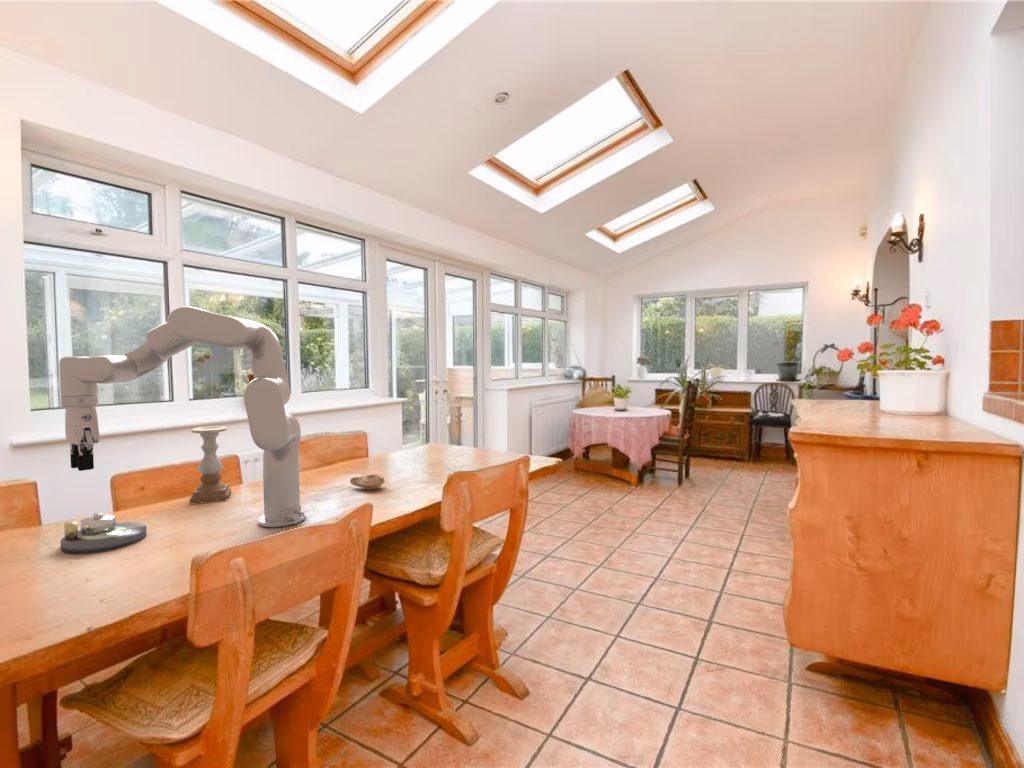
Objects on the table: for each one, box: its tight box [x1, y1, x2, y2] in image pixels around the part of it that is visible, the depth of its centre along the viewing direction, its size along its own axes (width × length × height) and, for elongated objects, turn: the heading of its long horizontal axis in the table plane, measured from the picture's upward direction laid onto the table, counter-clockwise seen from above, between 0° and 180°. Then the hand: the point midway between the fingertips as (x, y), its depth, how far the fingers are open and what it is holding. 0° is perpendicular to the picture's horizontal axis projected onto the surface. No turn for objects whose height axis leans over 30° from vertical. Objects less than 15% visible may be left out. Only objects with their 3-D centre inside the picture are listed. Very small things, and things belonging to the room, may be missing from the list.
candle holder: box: [189, 425, 232, 505], centre depth 166 cm, size 11×11×24 cm
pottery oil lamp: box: [349, 473, 386, 490], centre depth 179 cm, size 9×12×7 cm
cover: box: [80, 512, 117, 534], centre depth 129 cm, size 7×7×4 cm
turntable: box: [60, 520, 147, 555], centre depth 126 cm, size 17×17×6 cm
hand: (82, 467), depth 134 cm, fingers open, 4 cm apart
